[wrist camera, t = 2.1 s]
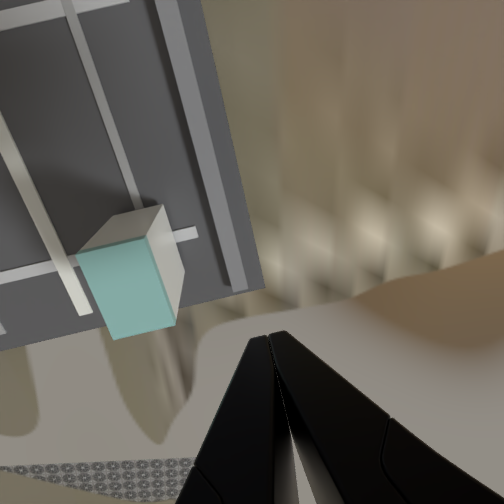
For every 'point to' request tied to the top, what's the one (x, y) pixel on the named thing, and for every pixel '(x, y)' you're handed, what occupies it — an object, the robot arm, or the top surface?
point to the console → (111, 154)
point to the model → (116, 477)
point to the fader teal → (134, 272)
